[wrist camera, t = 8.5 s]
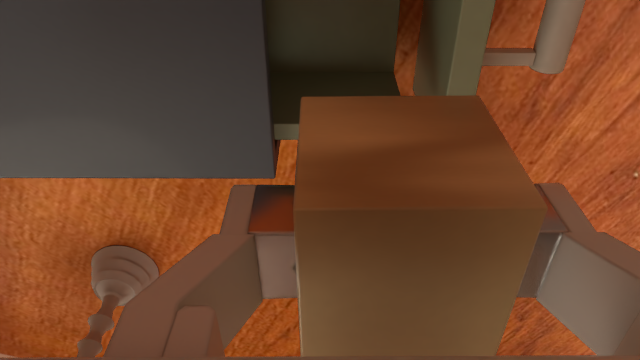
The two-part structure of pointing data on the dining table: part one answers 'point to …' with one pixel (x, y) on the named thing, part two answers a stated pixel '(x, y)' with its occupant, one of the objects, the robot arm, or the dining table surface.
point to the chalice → (115, 289)
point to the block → (408, 226)
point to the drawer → (380, 46)
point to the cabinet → (135, 89)
